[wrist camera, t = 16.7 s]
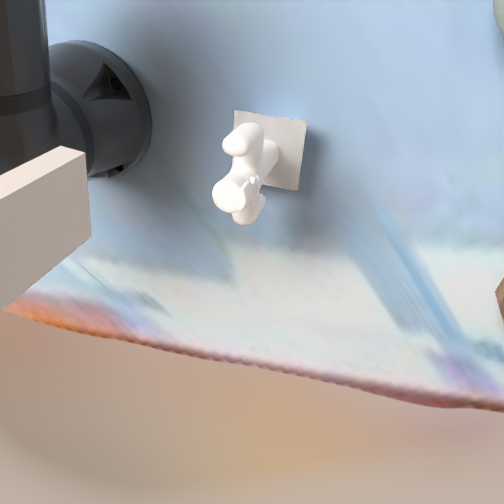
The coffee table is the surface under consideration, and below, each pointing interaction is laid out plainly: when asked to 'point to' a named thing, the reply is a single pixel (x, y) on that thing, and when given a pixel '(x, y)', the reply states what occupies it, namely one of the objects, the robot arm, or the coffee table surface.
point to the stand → (501, 297)
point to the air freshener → (499, 14)
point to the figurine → (259, 162)
